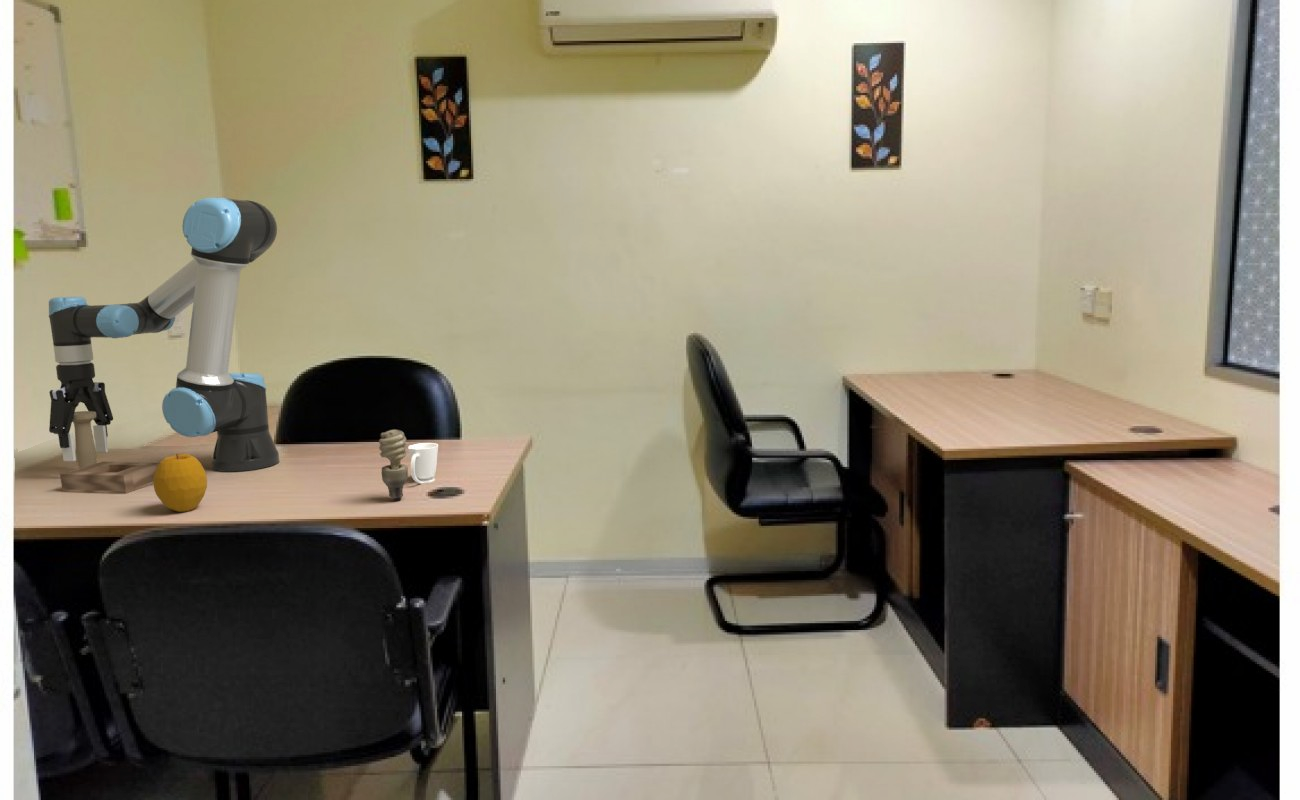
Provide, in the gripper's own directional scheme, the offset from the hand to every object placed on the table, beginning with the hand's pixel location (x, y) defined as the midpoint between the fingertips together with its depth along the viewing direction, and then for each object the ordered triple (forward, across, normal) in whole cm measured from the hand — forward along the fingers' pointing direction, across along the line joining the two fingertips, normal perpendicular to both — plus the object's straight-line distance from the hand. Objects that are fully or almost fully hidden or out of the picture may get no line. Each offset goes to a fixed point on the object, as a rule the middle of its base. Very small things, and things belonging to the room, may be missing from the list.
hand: (86, 456), depth 209 cm
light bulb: (+5, +14, +86) cm, 87 cm away
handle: (+5, 0, 0) cm, 5 cm away
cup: (+5, -1, +85) cm, 85 cm away
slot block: (+4, +9, +15) cm, 18 cm away
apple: (+5, +25, +45) cm, 52 cm away
